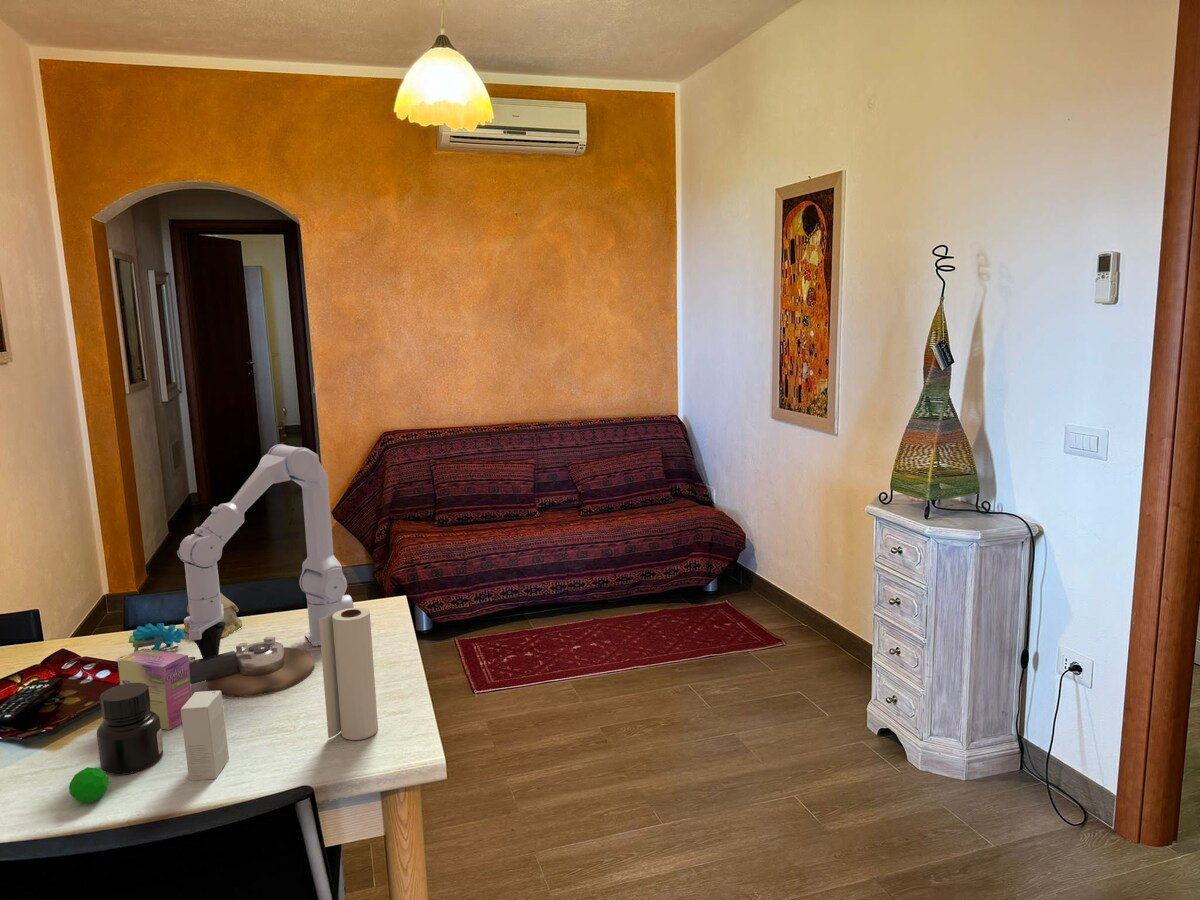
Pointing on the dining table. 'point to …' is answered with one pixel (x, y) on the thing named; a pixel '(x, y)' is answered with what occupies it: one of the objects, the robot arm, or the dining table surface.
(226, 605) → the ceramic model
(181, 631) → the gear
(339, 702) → the paper towel roll
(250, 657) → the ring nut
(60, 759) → the dining table surface
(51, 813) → the dining table surface
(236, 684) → the nut base plate
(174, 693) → the box
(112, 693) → the ink bottle
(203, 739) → the skincare box
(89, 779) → the polyhedron
